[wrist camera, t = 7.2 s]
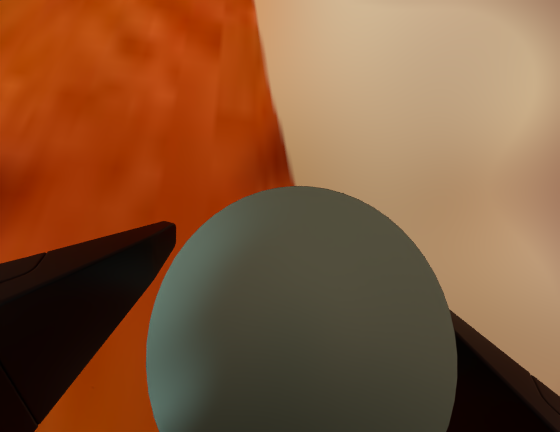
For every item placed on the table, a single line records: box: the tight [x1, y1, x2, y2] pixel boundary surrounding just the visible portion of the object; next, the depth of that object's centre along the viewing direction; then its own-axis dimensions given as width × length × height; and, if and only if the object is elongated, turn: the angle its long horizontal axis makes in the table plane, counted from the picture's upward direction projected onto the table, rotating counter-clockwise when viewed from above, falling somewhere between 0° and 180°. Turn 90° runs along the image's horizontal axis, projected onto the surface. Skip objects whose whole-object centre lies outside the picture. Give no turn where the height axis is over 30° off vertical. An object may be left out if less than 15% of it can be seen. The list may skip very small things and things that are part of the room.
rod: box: [146, 186, 457, 432], centre depth 9 cm, size 4×4×13 cm
